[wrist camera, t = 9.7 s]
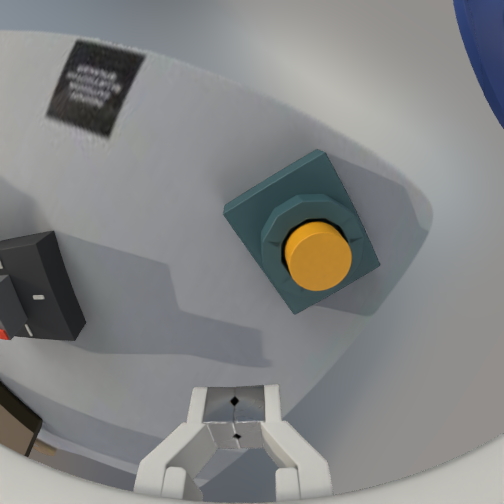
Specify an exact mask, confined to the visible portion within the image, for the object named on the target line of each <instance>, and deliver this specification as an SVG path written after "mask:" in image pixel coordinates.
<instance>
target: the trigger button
mask: <svg viewBox="0 0 504 504" xmlns="http://www.w3.org/2000/svg"><path fill="white" fill-rule="evenodd" d="M285 258H286V261H287V265H288V268H289V271H290V274H291V276H292V278H293V280H294V281H295V282H296V283H297V284H298V285H299V286H301V287H303V288H305V289H307V290H312V291H322V290H326V289H329V288H332V287H334V286H335V285H337V284H338V283H340V282H341V281H342V280H343V279H344V278H345V276H346V275H347V273H348V271H349V269H350V266H351V262H352V253H351V249H350V247H349V245H348V243H347V242H346V241H345V239H344V238H343V237H342V236H341V235H340V233H339V232H338V231H337V230H336V229H335V228H334V227H333V226H331V225H330V224H327V223H324V222H319V221H315V222H309V223H305V224H303V225H301V226H299V227H298V228H297V229H295V230H294V231H293V232H292V233H291V235H290V236H289V238H288V240H287V242H286V245H285Z"/></svg>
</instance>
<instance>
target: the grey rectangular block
mask: <svg viewBox="0 0 504 504" xmlns="http://www.w3.org/2000/svg"><path fill="white" fill-rule="evenodd" d="M27 320H28V318H27V316H26V314H25V312H24V310H23V307H22V305H21V303H20V301H19V298H18V296H17V294H16V291H15V289H14V287H13V284H12V282H11V279H10V277H9V275H0V339H5V340H11V339H12V338H13V337H14V336H15V334H16V333H17V332H18V331H19V329H20V328H21V327H22V326H23V324H24V323H25V322H26V321H27Z"/></svg>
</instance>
